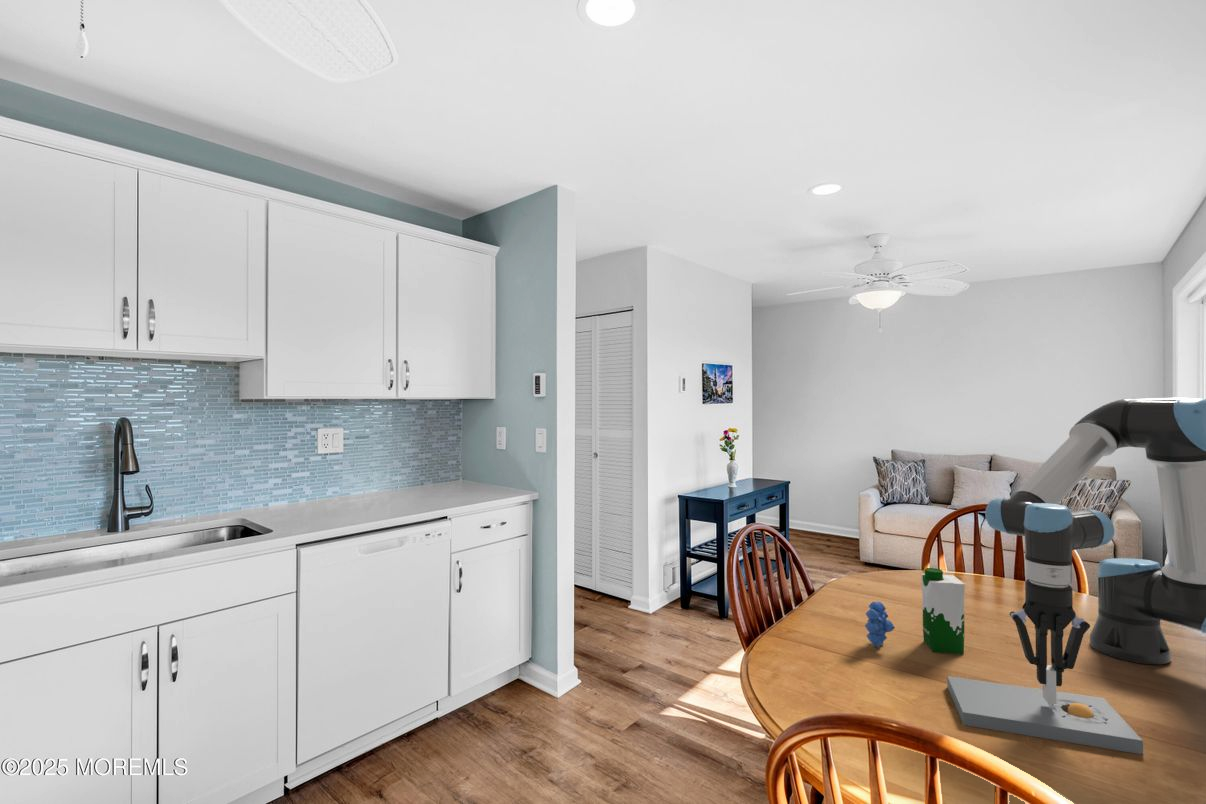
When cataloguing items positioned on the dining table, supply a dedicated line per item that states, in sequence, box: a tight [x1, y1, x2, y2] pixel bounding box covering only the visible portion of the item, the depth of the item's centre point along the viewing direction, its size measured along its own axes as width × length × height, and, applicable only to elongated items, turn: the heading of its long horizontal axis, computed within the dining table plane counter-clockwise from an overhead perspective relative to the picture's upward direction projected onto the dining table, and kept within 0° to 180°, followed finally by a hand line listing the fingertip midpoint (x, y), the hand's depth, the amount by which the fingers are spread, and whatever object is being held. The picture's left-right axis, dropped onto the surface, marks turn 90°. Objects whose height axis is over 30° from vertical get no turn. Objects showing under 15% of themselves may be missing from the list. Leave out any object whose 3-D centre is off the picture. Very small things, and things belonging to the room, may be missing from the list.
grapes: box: [864, 601, 895, 648], centre depth 151 cm, size 12×7×12 cm, turn 139°
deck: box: [946, 675, 1144, 755], centre depth 117 cm, size 28×16×2 cm, turn 69°
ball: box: [1068, 703, 1094, 718], centre depth 114 cm, size 4×4×4 cm
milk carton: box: [920, 567, 966, 656], centre depth 150 cm, size 9×9×20 cm
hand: (1049, 700), depth 116 cm, fingers closed
